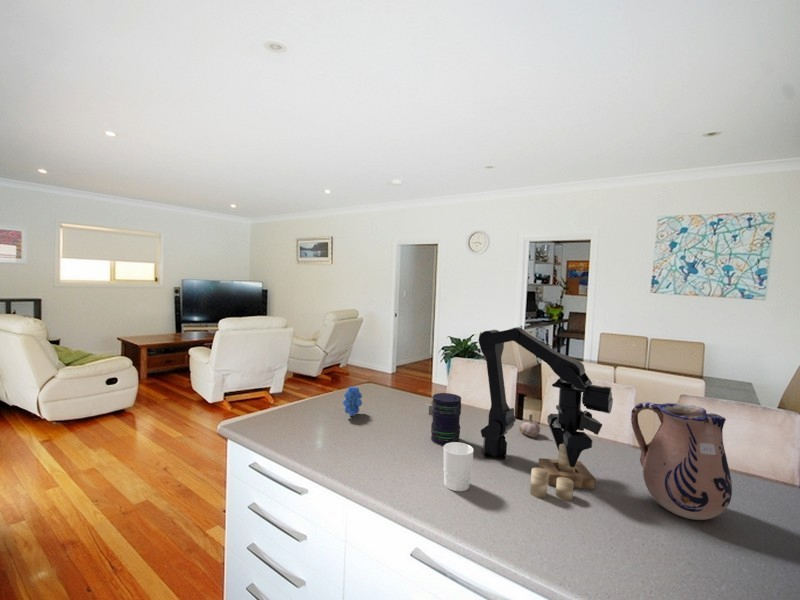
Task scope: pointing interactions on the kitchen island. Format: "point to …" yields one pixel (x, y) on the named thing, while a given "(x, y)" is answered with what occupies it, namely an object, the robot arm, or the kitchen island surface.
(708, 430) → the ceramic pitcher
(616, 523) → the kitchen island surface
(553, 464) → the collar block
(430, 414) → the platform
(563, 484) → the stub dowel
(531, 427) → the garlic bulb
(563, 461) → the long dowel
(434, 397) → the storage jar
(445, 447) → the white cup
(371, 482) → the kitchen island surface
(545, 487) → the medium dowel
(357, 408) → the grapes
